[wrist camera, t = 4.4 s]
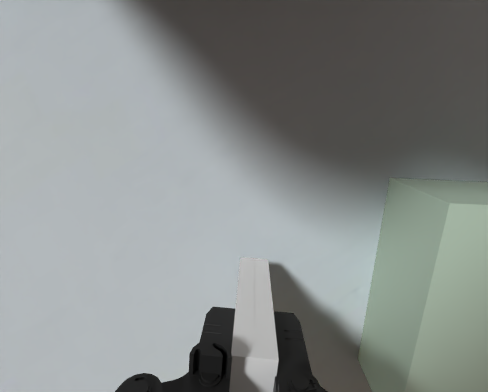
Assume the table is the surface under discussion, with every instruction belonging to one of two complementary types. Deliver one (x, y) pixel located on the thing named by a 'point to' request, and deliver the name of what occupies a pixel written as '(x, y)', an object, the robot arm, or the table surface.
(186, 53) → the table surface
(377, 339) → the sage green block
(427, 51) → the table surface
